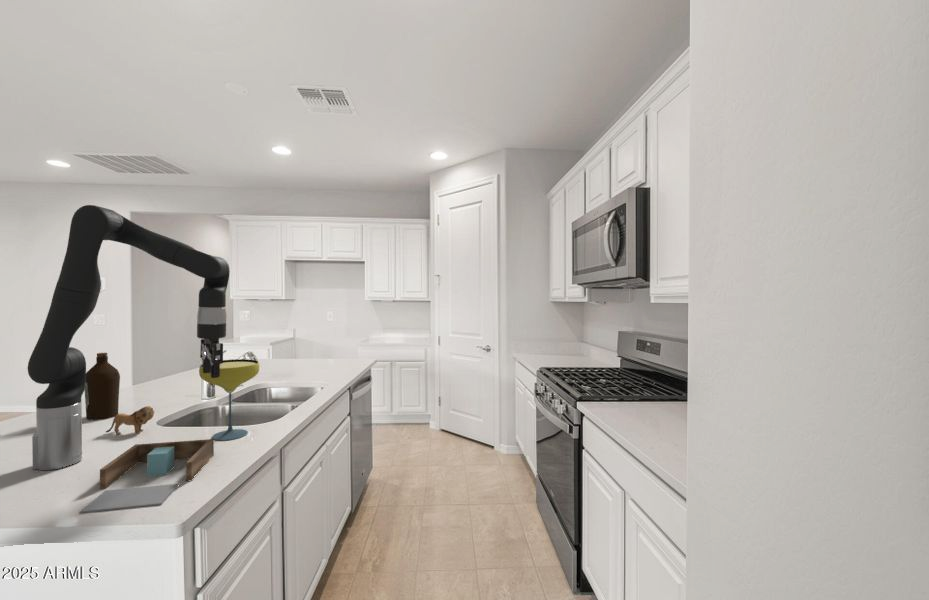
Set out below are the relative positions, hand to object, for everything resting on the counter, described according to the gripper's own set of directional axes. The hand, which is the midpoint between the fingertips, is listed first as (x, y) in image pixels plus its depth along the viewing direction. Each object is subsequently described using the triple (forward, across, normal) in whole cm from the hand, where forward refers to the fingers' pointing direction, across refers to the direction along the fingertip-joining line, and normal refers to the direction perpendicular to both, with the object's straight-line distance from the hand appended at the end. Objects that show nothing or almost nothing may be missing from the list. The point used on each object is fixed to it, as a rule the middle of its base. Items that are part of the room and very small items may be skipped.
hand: (210, 375), depth 125 cm
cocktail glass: (+25, -15, +10) cm, 31 cm away
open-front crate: (+25, +3, -12) cm, 28 cm away
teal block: (+25, +3, -12) cm, 28 cm away
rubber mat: (+25, +16, -20) cm, 36 cm away
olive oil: (+26, -71, -19) cm, 78 cm away
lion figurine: (+26, -42, -13) cm, 51 cm away
